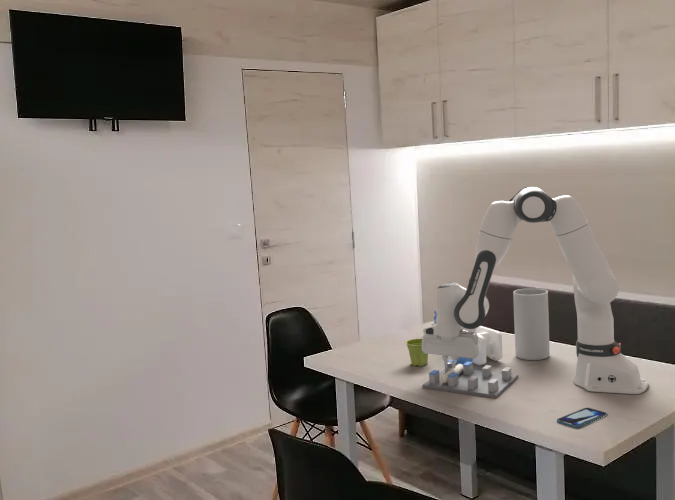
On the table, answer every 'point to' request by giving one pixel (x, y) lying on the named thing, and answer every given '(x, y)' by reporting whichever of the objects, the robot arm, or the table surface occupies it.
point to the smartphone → (581, 417)
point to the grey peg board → (472, 380)
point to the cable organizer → (488, 345)
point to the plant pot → (417, 352)
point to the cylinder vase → (531, 324)
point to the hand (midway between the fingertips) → (450, 367)
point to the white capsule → (457, 369)
